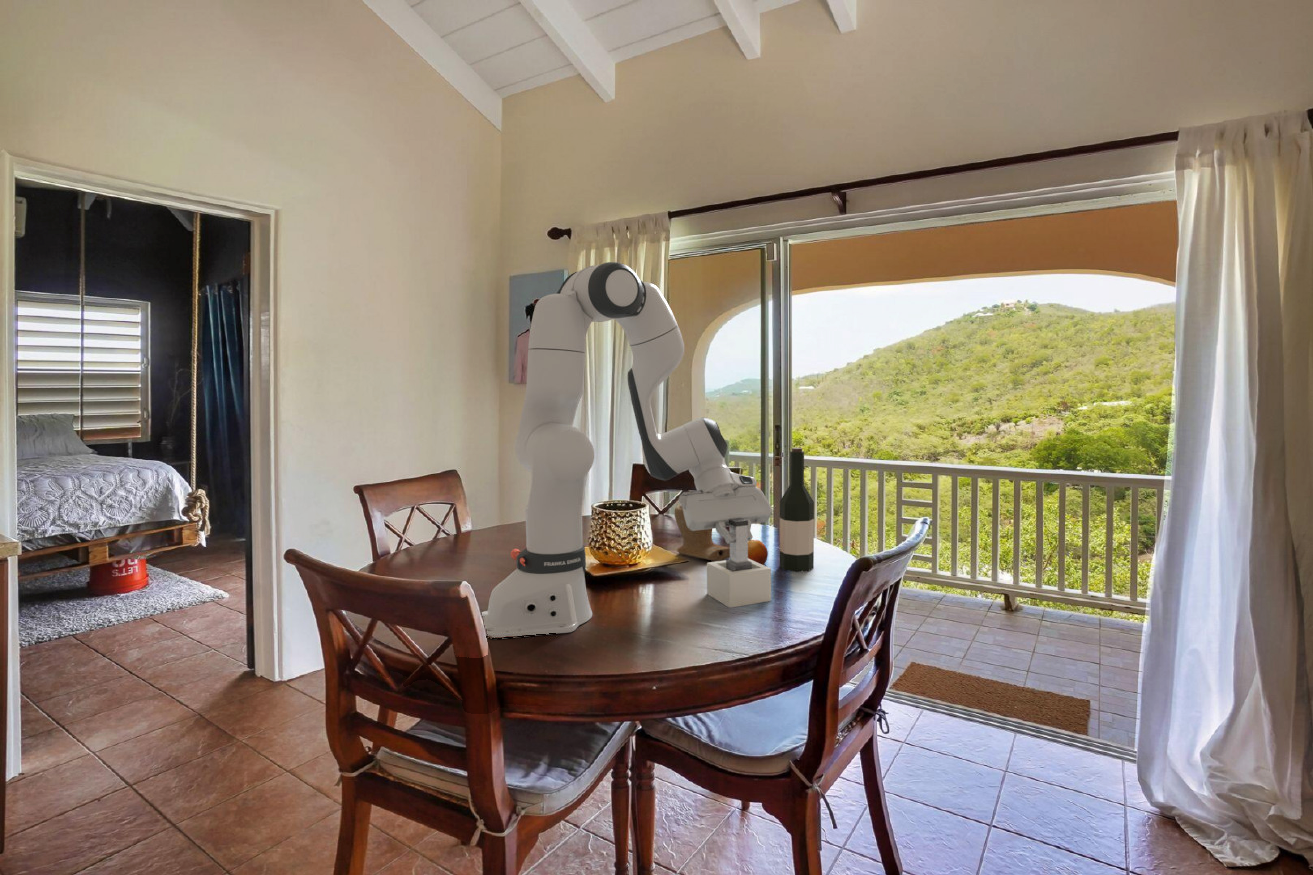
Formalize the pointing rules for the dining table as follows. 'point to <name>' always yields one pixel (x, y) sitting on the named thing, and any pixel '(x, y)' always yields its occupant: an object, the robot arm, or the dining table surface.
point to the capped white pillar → (739, 546)
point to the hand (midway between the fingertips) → (740, 540)
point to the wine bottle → (797, 520)
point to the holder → (739, 584)
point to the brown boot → (699, 541)
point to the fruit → (757, 551)
